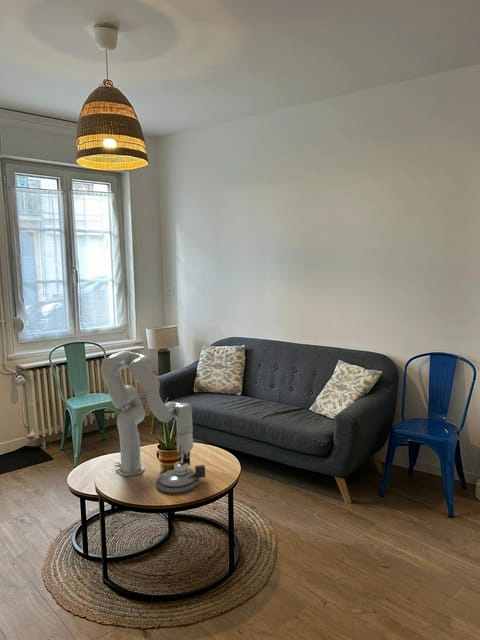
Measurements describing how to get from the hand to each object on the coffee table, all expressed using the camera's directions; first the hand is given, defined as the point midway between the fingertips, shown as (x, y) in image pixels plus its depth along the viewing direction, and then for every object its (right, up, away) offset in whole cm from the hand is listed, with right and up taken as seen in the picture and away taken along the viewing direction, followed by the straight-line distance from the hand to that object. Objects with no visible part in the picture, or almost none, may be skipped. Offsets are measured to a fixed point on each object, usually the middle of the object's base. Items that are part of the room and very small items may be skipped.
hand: (186, 465), depth 232 cm
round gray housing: (-2, -4, -10) cm, 11 cm away
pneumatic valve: (-9, -4, +8) cm, 13 cm away
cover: (-2, -2, -5) cm, 6 cm away
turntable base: (-3, -6, -9) cm, 11 cm away
